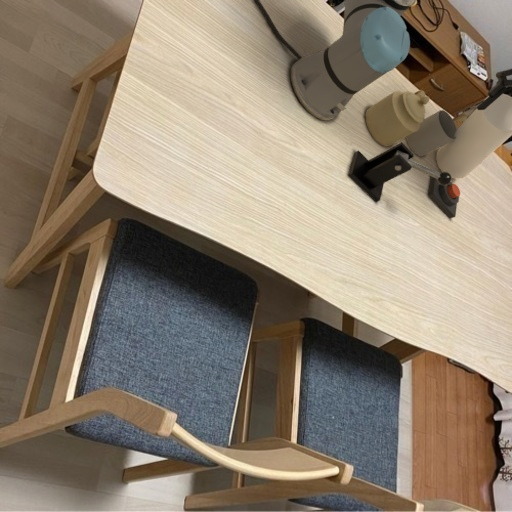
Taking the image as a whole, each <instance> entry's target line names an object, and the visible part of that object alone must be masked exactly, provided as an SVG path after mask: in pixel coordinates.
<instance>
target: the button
mask: <svg viewBox="0 0 512 512" xmlns="http://www.w3.org/2000/svg"><path fill="white" fill-rule="evenodd" d="M447 191H448V194H449V196H450V197H451V198H452V199H454V198H456V197H459V198H460V196H461V190H460V188H459V185H458V184H456V183H452V185H450V186H448V187H447Z"/></svg>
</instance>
